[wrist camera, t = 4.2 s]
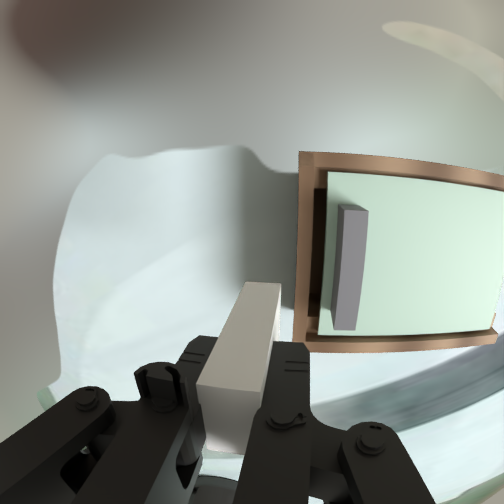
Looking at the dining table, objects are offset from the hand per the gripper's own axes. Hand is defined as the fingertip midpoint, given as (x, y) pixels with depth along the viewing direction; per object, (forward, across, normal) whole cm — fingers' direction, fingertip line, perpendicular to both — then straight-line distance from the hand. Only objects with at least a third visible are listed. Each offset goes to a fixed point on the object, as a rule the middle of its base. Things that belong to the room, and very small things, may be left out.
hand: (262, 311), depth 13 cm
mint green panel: (+10, +12, 0) cm, 15 cm away
